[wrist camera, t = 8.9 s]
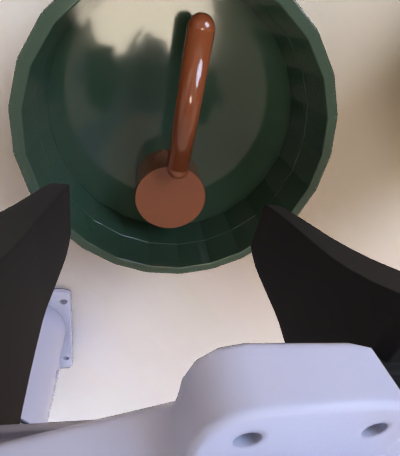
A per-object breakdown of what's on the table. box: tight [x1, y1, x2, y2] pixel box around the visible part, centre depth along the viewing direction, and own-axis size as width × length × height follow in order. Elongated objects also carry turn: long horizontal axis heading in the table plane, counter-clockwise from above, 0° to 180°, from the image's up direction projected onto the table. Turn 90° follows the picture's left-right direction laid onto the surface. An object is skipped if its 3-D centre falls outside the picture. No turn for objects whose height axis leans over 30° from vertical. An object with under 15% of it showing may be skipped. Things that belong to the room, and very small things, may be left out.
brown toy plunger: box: [135, 12, 216, 228], centre depth 17 cm, size 11×4×4 cm, turn 169°
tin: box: [8, 0, 338, 274], centre depth 17 cm, size 15×15×5 cm
